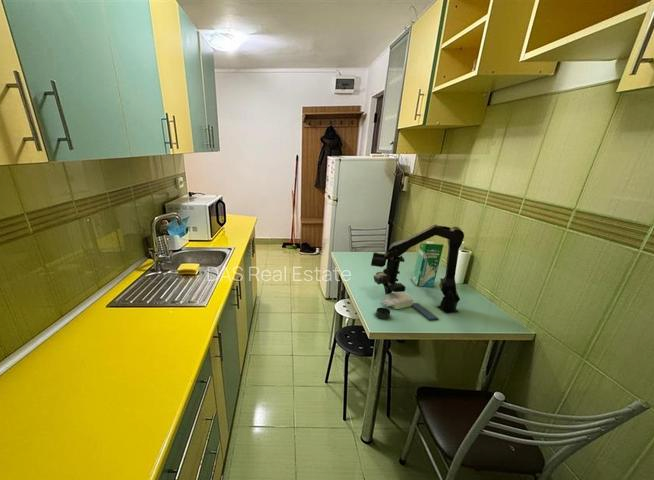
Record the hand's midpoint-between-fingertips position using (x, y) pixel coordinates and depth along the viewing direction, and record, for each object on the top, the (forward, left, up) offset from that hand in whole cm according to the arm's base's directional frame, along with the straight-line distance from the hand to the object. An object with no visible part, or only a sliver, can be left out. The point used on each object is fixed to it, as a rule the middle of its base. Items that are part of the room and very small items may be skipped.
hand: (386, 296), depth 155 cm
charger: (0, +7, -2) cm, 7 cm away
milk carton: (-32, -15, -2) cm, 35 cm away
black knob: (+11, +15, -2) cm, 19 cm away
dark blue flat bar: (-11, +15, -2) cm, 19 cm away
